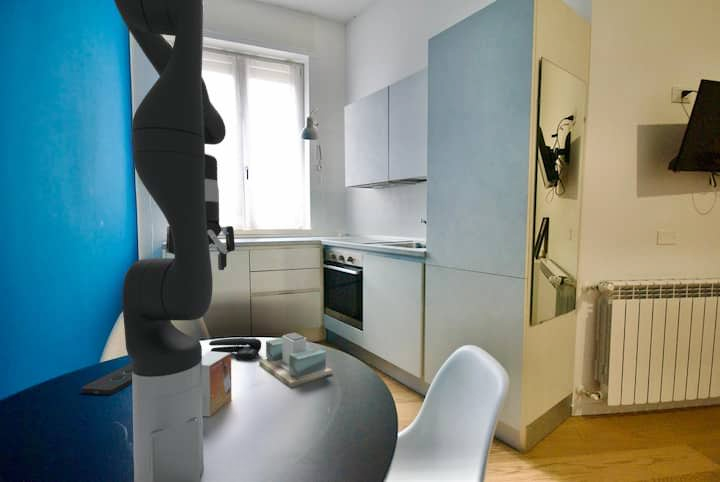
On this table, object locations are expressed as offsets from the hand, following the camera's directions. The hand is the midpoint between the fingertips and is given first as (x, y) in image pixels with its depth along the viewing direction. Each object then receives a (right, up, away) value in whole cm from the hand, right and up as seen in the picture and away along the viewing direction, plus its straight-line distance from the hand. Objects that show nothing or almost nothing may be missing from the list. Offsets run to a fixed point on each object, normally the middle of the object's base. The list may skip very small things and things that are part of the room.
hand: (202, 271), depth 79 cm
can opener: (-2, -28, +25) cm, 38 cm away
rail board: (+19, -28, +14) cm, 36 cm away
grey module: (+19, -26, +14) cm, 35 cm away
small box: (+4, -29, -6) cm, 30 cm away
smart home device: (-23, -29, +10) cm, 38 cm away
